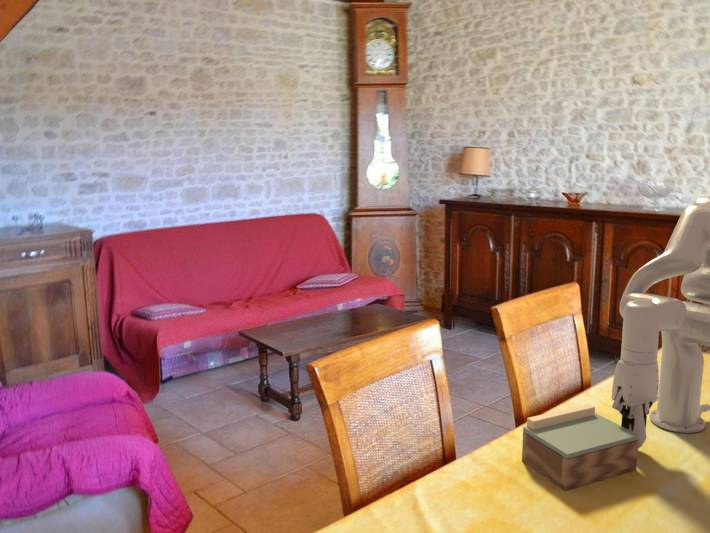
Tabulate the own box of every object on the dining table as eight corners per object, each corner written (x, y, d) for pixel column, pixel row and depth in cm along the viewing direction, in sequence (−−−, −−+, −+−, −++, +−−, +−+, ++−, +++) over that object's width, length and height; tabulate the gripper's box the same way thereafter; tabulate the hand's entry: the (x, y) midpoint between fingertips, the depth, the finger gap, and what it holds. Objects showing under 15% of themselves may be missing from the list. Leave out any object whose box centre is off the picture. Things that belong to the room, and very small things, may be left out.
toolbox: (589, 443, 153) (591, 415, 152) (636, 469, 141) (638, 440, 139) (521, 460, 145) (523, 432, 144) (565, 490, 133) (566, 459, 131)
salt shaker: (648, 451, 146) (652, 398, 143) (621, 449, 147) (625, 396, 144) (642, 440, 151) (646, 388, 149) (616, 438, 152) (620, 386, 150)
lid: (591, 414, 152) (592, 403, 151) (638, 439, 139) (639, 426, 139) (523, 431, 144) (523, 418, 143) (566, 458, 131) (567, 445, 131)
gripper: (651, 345, 151) (645, 417, 155) (599, 355, 145) (594, 431, 148) (678, 354, 145) (672, 430, 148) (625, 366, 138) (619, 444, 142)
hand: (633, 430), depth 148 cm, fingers closed on salt shaker, 3 cm apart
